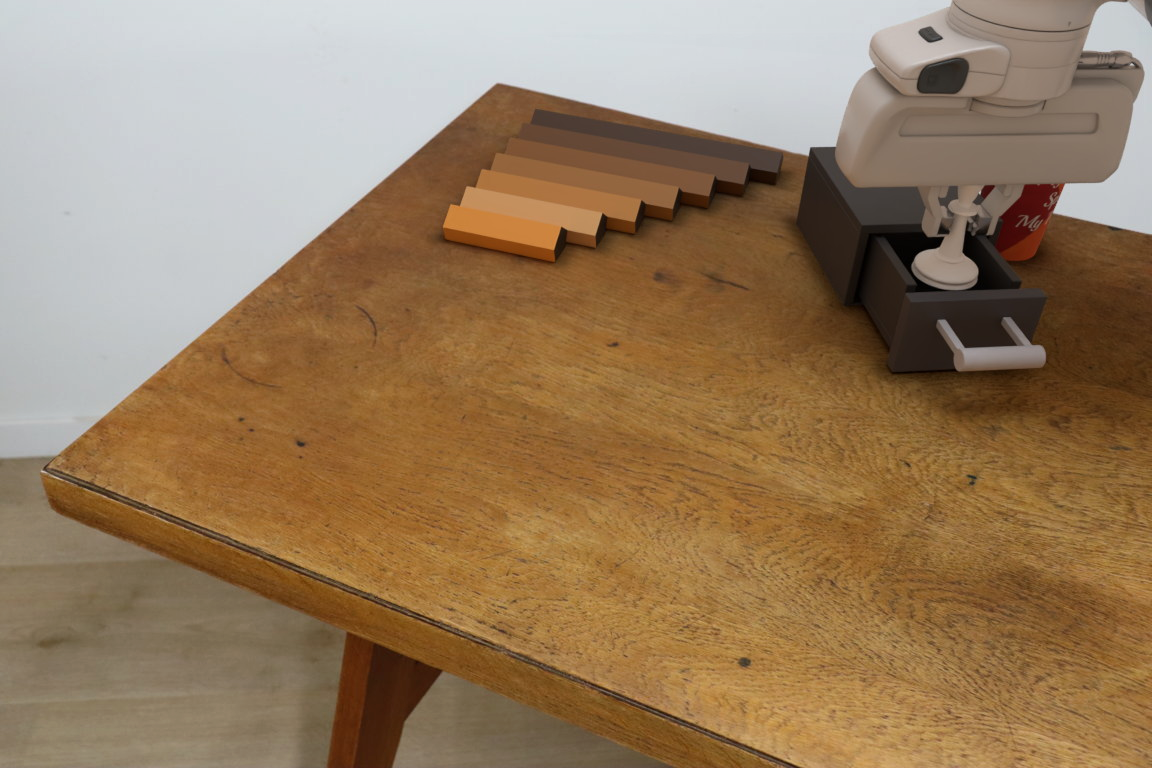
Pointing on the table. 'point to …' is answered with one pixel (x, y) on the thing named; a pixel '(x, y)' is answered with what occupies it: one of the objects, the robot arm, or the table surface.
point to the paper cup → (1026, 220)
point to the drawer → (949, 308)
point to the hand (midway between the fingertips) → (955, 232)
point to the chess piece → (951, 249)
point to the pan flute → (595, 183)
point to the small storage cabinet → (856, 218)
